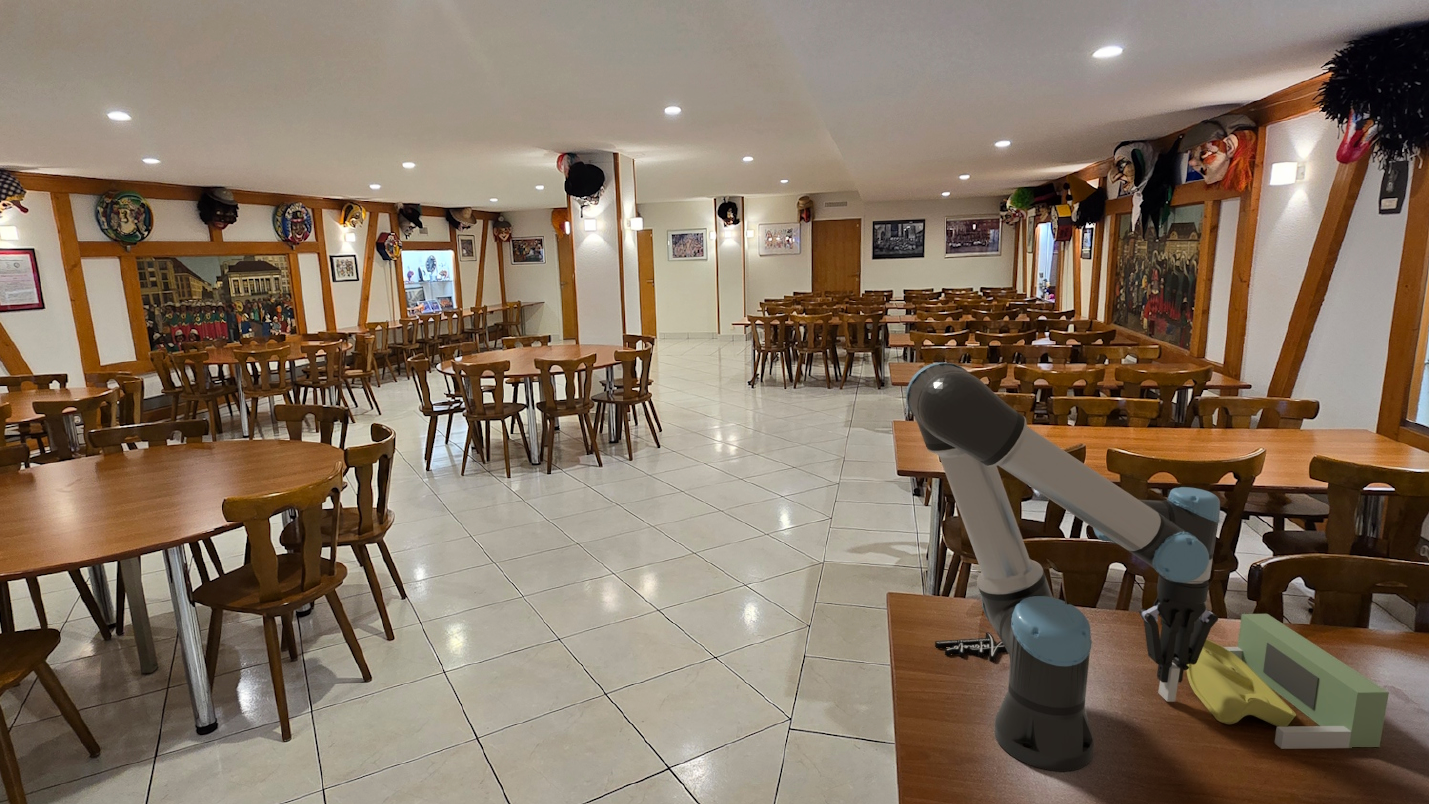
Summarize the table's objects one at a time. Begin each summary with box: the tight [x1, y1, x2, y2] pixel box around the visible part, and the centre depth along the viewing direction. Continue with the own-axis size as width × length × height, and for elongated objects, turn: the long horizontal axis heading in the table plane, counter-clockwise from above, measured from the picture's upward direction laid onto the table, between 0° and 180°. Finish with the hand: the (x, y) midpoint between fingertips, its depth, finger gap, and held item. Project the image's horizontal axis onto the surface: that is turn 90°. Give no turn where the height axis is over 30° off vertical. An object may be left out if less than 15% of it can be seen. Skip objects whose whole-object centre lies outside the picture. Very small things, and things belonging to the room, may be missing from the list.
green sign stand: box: [1223, 613, 1390, 750], centre depth 134 cm, size 16×27×10 cm, turn 0°
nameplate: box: [934, 632, 1008, 663], centre depth 154 cm, size 28×2×10 cm
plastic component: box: [1185, 638, 1297, 728], centre depth 136 cm, size 20×7×10 cm
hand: (1166, 697), depth 135 cm, fingers closed
